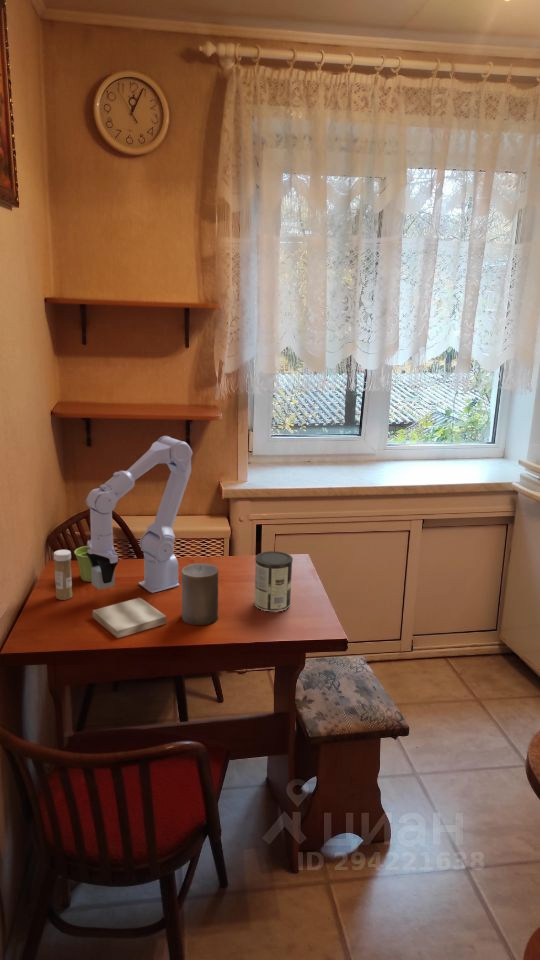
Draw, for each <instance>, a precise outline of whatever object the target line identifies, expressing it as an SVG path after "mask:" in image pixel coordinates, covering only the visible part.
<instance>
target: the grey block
mask: <svg viewBox="0 0 540 960" xmlns="http://www.w3.org/2000/svg"><path fill="white" fill-rule="evenodd" d="M91 575H92V582H91V585H92V586H93V587H95V588H96V589H97V590H99V591H100V590H104V589H107V588H111V587H115V582H116V581H115V579H116V578H115V572H114V573H113V577H112V581H111V582H109V583H104V582H103V579H102V573H101V569H100V566H95V567H91Z"/></svg>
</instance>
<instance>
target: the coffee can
mask: <svg viewBox="0 0 540 960" xmlns="http://www.w3.org/2000/svg"><path fill="white" fill-rule="evenodd" d="M293 562H294V561H293V557H292V555H290V554H289V553H286V552H283V551H274V550H273V551H272V550H270V551H263V552H260V553H258V554H257V555H256V556H255V570H254V571H255V577H254V579H255V580H254V603H253V605H254V604H255V605H254V606H256V607H257V608H256V607H255V608H256V609H258V608H259V609H261V610H260V611H262V610H264V611H263V612H265V611H274V612H273V613H276V612H275V611H281V610H285V609H287V608H288V607H289V606H290V607H291V597H292V595H291V593H292V591H291V590H292V569H293ZM290 607H289V608H290ZM289 608H288V609H289ZM259 609H258V610H259ZM288 609H287V610H288ZM285 611H286V610H285Z"/></svg>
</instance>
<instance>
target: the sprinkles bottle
mask: <svg viewBox="0 0 540 960" xmlns="http://www.w3.org/2000/svg"><path fill="white" fill-rule="evenodd" d="M71 559H72V552H71V550H68V549H58V550H55V551H54V552H53V560H54V578H55V579H54V580H55V581H54V582H55V591H56V592H55V593H56V594H55V598H56V599H58V600H61V601H63V600H64V601H66V600H69V599H71V598H72V597H73V596H74V595H73V588H72V587H73V582H72V580H73V579H72V567H71V565H72V564H71V561H72V560H71Z"/></svg>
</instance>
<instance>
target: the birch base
mask: <svg viewBox="0 0 540 960" xmlns="http://www.w3.org/2000/svg"><path fill="white" fill-rule="evenodd" d="M92 618H93V619H94V620H95V621H97V622H98V624H100V625H101V626H102V627H104V628H105V629H106V630H107V631H108V632H110V633H111V634H112V635H113V636H114V637H115V638H117V639H121V638H124V637H127V636H130V635H133V634H136V633H141V632H144V631H146V630H149V629H152V628H153V629H154V628H157V627H159V626H160V627H161V626H163V625H166V624H167V615H165V614H164V613H162V612H161V611H160V610H158V609H157V608H155V607H154V606H153V605H151V604H150V603H149V602H147V601H146V600H144V599H143V598H141V597H137V598H133V599H129V600H125V601H122V602H118V603H116V604H115V603H114V604H111V605H108V606H107V605H106V606H103V607H100V608H99V607H98V608H97V609H92Z"/></svg>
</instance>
